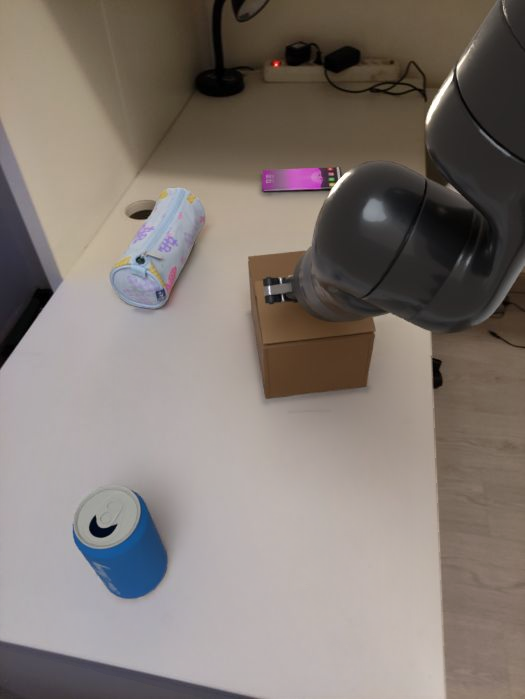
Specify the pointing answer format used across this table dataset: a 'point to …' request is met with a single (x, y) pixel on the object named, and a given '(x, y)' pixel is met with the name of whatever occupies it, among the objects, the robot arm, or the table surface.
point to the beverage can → (120, 541)
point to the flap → (300, 322)
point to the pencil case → (159, 250)
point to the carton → (305, 346)
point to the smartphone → (300, 179)
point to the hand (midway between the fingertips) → (311, 290)
